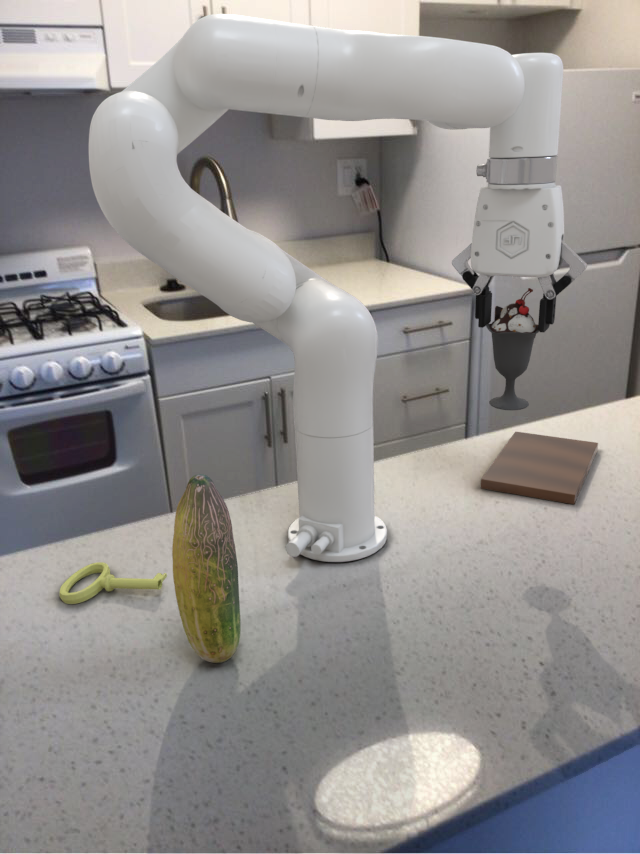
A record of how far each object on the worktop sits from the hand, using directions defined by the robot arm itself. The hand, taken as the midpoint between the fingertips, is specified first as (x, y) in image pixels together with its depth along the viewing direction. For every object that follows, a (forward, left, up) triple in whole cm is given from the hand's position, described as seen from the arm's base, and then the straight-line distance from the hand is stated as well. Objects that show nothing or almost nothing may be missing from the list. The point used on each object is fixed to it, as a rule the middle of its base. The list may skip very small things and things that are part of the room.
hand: (513, 326), depth 93 cm
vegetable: (-42, +18, -25) cm, 52 cm away
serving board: (+15, -2, -25) cm, 30 cm away
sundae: (0, 0, -10) cm, 10 cm away
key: (-37, +36, -26) cm, 58 cm away
